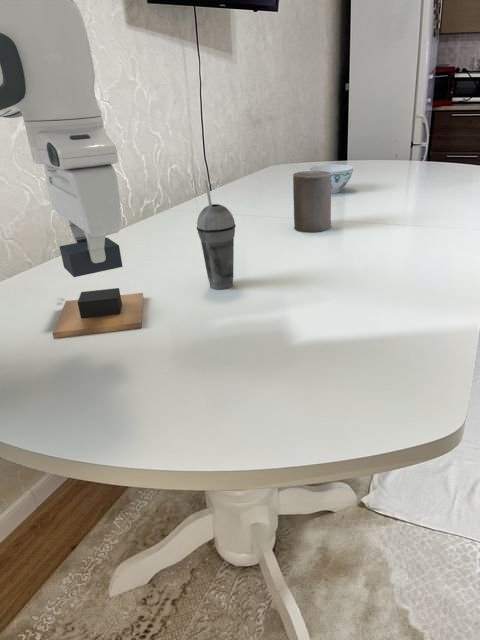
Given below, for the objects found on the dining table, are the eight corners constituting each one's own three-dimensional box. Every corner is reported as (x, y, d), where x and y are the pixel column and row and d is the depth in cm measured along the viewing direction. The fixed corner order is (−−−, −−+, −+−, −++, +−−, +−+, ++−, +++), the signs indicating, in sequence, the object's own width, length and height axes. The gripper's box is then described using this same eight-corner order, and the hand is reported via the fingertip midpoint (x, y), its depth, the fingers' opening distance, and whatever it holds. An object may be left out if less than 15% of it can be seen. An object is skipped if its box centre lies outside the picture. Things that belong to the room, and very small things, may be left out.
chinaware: (329, 185, 188) (329, 163, 185) (361, 190, 178) (362, 166, 174) (299, 192, 180) (298, 169, 176) (331, 198, 169) (331, 173, 166)
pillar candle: (290, 232, 135) (288, 171, 128) (298, 222, 143) (297, 165, 136) (327, 233, 132) (327, 171, 125) (334, 223, 140) (335, 164, 134)
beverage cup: (245, 287, 101) (237, 180, 91) (208, 294, 98) (197, 184, 89) (233, 276, 107) (224, 174, 97) (198, 282, 104) (186, 178, 95)
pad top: (73, 277, 67) (68, 254, 66) (64, 267, 71) (59, 246, 69) (122, 267, 70) (119, 245, 69) (110, 258, 74) (107, 237, 72)
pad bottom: (81, 318, 89) (77, 302, 87) (84, 307, 93) (81, 291, 92) (120, 314, 89) (117, 298, 88) (121, 303, 94) (119, 287, 92)
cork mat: (53, 338, 85) (52, 332, 84) (66, 306, 97) (65, 300, 96) (141, 328, 86) (140, 322, 86) (143, 297, 99) (142, 292, 98)
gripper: (24, 141, 70) (48, 243, 76) (62, 154, 54) (88, 281, 60) (72, 136, 73) (91, 235, 79) (121, 148, 57) (140, 269, 63)
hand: (90, 255), depth 70 cm, fingers closed on pad top, 5 cm apart
